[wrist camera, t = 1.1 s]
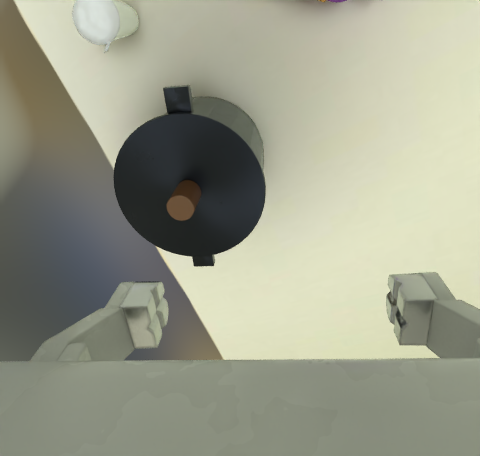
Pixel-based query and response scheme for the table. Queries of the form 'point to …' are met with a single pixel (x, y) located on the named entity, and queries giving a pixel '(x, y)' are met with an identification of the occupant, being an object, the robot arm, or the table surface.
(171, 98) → the pot
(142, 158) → the pot lid
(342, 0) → the toy camera
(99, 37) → the milkshake
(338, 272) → the table surface
